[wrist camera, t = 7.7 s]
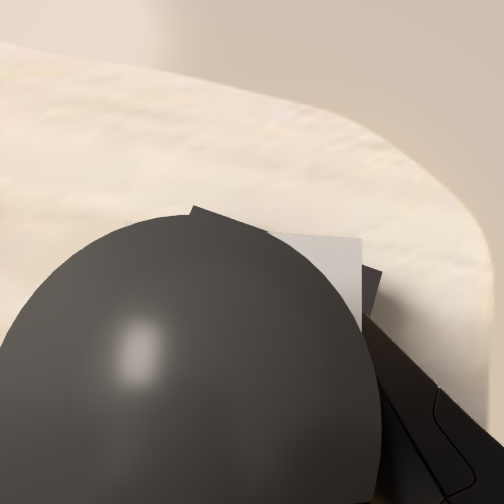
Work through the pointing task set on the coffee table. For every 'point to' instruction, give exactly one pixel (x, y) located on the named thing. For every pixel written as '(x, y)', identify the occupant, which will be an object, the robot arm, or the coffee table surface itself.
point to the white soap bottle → (192, 372)
